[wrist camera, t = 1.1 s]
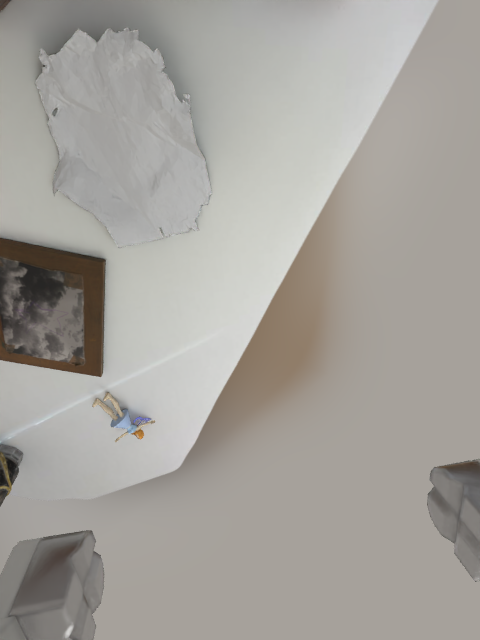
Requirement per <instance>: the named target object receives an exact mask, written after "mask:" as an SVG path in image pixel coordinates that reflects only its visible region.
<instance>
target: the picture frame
mask: <svg viewBox="0 0 480 640" xmlns="http://www.w3.org/2000/svg"><path fill="white" fill-rule="evenodd" d="M105 262H106V260H104V259H98V258H94V257H89V256H84V255H80V254H74V253H70V252H65V251H60V250H56V249H51V248H46V247H41V246H36V245H31V244H27V243H22V242H16V241H12V240H7V239H2V238H0V360H3V361H9V362H15V363H21V364H27V365H32V366H38V367H44V368H50V369H56V370H62V371H68V372H74V373H80V374H86V375H92V376H98V377H101V376H102V374H103V348H104V346H103V343H104V340H103V339H104V300H105V264H106V263H105Z"/></svg>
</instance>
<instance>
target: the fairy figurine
mask: <svg viewBox="0 0 480 640" xmlns="http://www.w3.org/2000/svg"><path fill="white" fill-rule="evenodd" d="M107 399H110V400H111V402H112V403H113V405H114V407H115V409H116V410H117V412H118V414H117V415H115V414H114V412H113V411H112V410H111V409H110V408H109V407H108V406H106V405H105V404H103V403H102V402H101V401H100V400H99V399H98V398H97V399H96V400H95V402H94V403H93V405H92V406H93V407H95V406H96V405H100V406H101V407H102V409H103V410H104V411H105V412H106V413H108V414H109V415H110V416H111V417H112V418H113V420H112V422H111V427H116V428H124V429H127V430H128V432H126V433H124V434H123V435H122V436H120V437H119V438H117V439H116V441H115V442H117V441H118V440H119V439H120V438H121V437H123V436H125V435H126V434H132V435H133V434H135V435H136V437H137V438H138V439H142V438H143V436H144V433H143V431H142V429H140V428H142V427H143V426H145V425H147V424H149V423H151V424H153V423H155V420H154V421H151V422H147V421H149V420H146V419H150V418H142V417H141V418H140V417H138V418H136V419H135V420H134V422H135V421H136V420H137V419H140V420H141V421H142V420H144V419H145V420H146V421H145V423H144V422H143V423H144V424H142V423H141V422H140V423H141V424H140V423H139V424H140V425H139V424H138V425H139V426H138V425H137V424H136V425H137V426H136V425H132V424H131V420H130V416H129V413H128V410H127V409H124V410H122V411H121V410H120V407H119V404H118V402H117V401H116V400H115V399H113V397H112V396H111V395H110V394H109V393H106V395H105V397H104V399H103V400H104V401H106V400H107ZM150 420H151V419H150ZM138 421H139V420H138ZM138 421H137V422H138ZM134 422H133V424H134ZM133 432H134V433H133Z"/></svg>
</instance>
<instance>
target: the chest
mask: <svg viewBox="0 0 480 640" xmlns="http://www.w3.org/2000/svg"><path fill="white" fill-rule="evenodd" d="M10 1H11V0H0V12H1V11H2V10H3V9H4V7H5V6H6V5H7V4H8V3H9V2H10Z"/></svg>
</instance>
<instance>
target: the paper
mask: <svg viewBox="0 0 480 640" xmlns="http://www.w3.org/2000/svg"><path fill="white" fill-rule="evenodd" d="M138 37H139V30H137V29H136V30H133V31H130V29H129V28H125V29H124V30H123V31H122V32H121V31H118V34H117V33H115V32H114V31H113V30H112V29H111V28H108V29H106V31H105V32H104V34H103V35H102V36H101V38H100V39H99V41H98V43H97V42H96V41H95V40H94V39H93V38H92V37H90V36H89V35H87V33H86V32H82V31H80V29H77V30H76V32H75V33H74V35H73V36H72V37H71V38H70V39H69V40H68V42H67V43H65V45H64V46H63V48H62V49H61V50H60V51H59V52H58V53H57V54H56V55H55V54H52V55H49V56H47V55H46V51H45V50H43V49H40V53H41V55H40V56H39V59H40V61H41V62H42V64H44V65H46V67H42V71H43V72H42V73H41V74H40V76H39V77H38V78H37V80H36V81H35V85H36V87H37V88H38V90H39V93H40V97H41V100H42V104H43V106H44V109H45V112H46V113H47V115H48V117H49V121H48V124H47V125H48V126H49V128H50V133H51V135H52V137H53V138H54V140H55V143H56V144H57V147H58V149H59V158H60V162H59V165H58V167H57V169H56V170H55V175H54V180H53V193H54V194H55V193H56V191H58V190H59V191H61V192H62V193H64V194H65V195H66V196H67V197H68V198H69V199H72V200H73V201H74V202H75V203H76V204H77V205H79V206H80V207H82V208H84V209H85V210H87V211H89V212H91V213H92V214H94V216H95V217H96V218H97V219H98V220H100V221H101V222H102V223H103V224H104V225H105V227H106V228H107V229H108V231H109V233H110V235H111V237H112V238H113V240H114V241H115V243H116V245H117V246H118V248H121V247H126V246H131V245H136V244H141V243H145V242H150V241H154V240H158V239H163V237H162V236H163V235H162V233H161V232H160V231H161V230H160V229H159V228H160V227H161V228H162V231H163V233H164V235H165V236H166V237H170V234H171V235H177V234H181V232H182V233H187V232H189V229H190V228H192V229H193V230H194V231H198V230H199V229H198V227H197V224H196V223H195V219H197V217H198V216H199V212H200V211H201V205H202V206H203V204H204V205H208V202H209V196H210V195H211V194H212V191H211V186H210V182H209V177H208V172H207V167H206V160H205V158H204V156H203V155H202V153H201V151H200V149H199V148H198V146H197V143H196V139H195V135H194V130H193V124H192V119H191V113H190V112H189V111H190V110H191V105H190V106H189V105H188V104H187V103H186V101H185V100H183V102H182V103H181V101H180V100H179V99H178V98H177V96H176V92H175V88H174V85H173V83H172V81H171V80H169V78H168V75H167V74H166V73H162V71H163V68H166V66H165V64H164V59H163V56H162V55H161V54H160V51H159V49H157V48H156V49H155V51H154V52H153V51H152V50H151V49H150V47H149V46H146V45H145V43H144V42H141V41H140V40H138ZM183 96H184V97H185V98H186V99H187V100H188V102H189V103H190V95H189V94H183ZM55 108H57V109H59V110H57V112H56V116H55V117H54V116H53V115H52V113H53V111H54V109H55ZM54 196H55V195H54ZM200 204H201V205H200ZM169 233H170V234H169Z"/></svg>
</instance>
